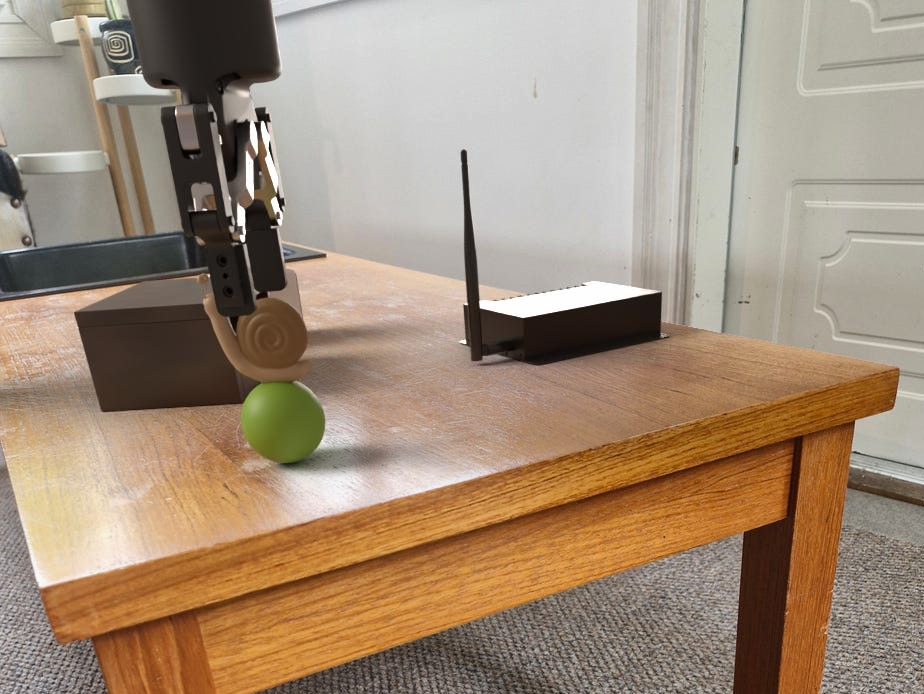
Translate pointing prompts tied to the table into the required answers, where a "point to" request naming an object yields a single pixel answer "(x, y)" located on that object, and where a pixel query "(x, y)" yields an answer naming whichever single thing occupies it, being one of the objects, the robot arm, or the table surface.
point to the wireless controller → (553, 313)
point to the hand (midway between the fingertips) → (256, 302)
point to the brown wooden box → (159, 348)
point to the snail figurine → (272, 378)
